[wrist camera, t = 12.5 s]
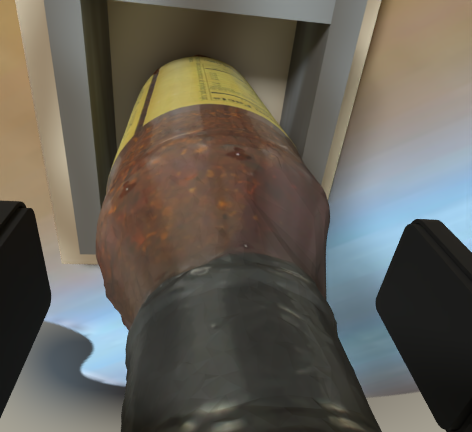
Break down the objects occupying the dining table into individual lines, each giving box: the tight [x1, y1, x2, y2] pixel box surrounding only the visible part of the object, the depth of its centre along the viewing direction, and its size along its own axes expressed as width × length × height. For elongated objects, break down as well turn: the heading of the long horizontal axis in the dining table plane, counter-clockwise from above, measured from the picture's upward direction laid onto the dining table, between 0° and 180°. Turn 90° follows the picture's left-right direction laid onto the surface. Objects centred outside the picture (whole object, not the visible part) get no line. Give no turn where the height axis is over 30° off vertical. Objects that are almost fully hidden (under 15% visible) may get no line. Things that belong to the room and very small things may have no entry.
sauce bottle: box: [96, 55, 382, 432], centre depth 12 cm, size 7×6×20 cm
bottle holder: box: [15, 0, 381, 264], centre depth 19 cm, size 17×22×6 cm
